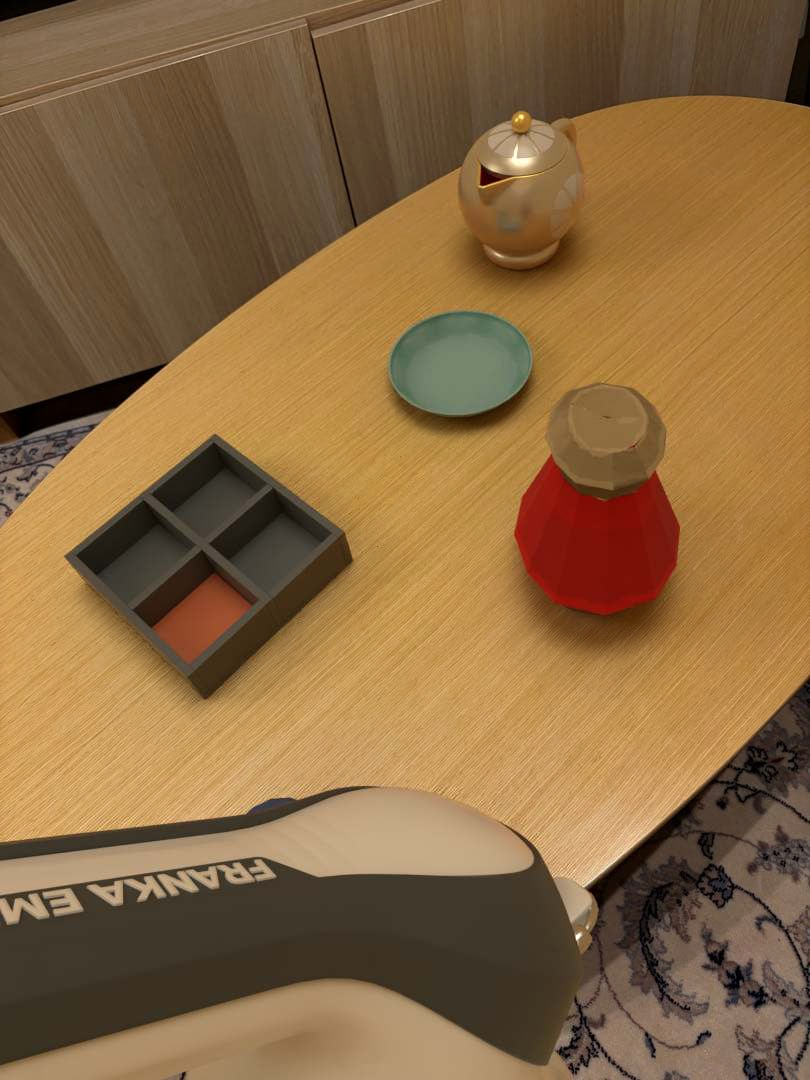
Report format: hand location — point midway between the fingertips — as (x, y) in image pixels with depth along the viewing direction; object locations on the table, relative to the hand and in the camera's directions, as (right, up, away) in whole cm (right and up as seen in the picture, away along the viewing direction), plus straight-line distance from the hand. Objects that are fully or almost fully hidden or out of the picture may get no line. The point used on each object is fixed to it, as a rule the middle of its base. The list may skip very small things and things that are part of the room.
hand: (339, 934), depth 48 cm
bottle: (+20, +20, +28) cm, 40 cm away
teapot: (+18, +57, +52) cm, 79 cm away
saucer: (+10, +39, +42) cm, 58 cm away
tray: (-14, +19, +32) cm, 40 cm away
